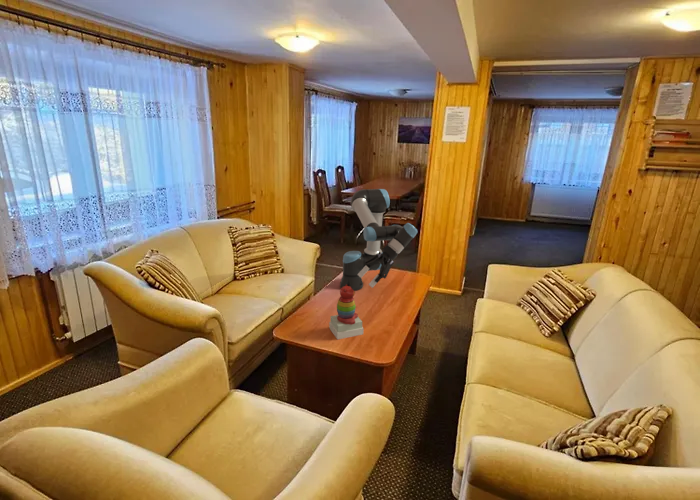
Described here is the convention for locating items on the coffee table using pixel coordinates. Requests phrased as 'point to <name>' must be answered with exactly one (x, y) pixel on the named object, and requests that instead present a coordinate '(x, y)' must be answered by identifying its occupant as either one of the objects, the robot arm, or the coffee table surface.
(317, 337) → the coffee table surface
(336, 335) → the tower base
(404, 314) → the coffee table surface
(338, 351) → the coffee table surface
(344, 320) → the stacking bear
